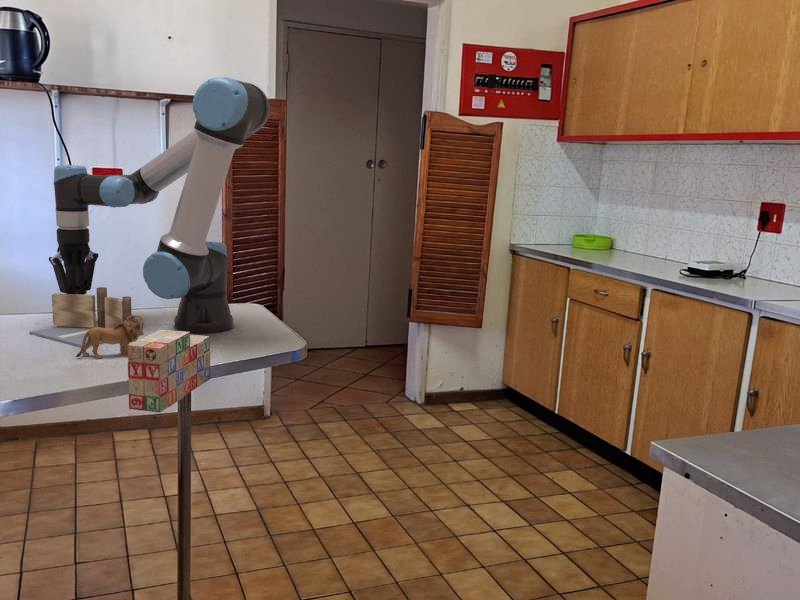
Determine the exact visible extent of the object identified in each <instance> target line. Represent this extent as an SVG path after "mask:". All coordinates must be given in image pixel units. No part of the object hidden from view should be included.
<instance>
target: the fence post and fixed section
mask: <svg viewBox="0 0 800 600" xmlns="http://www.w3.org/2000/svg"><path fill="white" fill-rule="evenodd" d="M96 315H97V317H96V318H97V320H96V321H98V327H100V328H114V327H116V326H118V325H119V324H120V323H121V322H124V321H125V320H126V319H127V317H129V316H131V315H132V296H129V295H128V296H122V298H118V297H113V296H108V287H103V286H102V287H101V286H100V287H96Z"/></svg>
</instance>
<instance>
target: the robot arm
mask: <svg viewBox="0 0 800 600" xmlns="http://www.w3.org/2000/svg"><path fill="white" fill-rule="evenodd" d="M192 111H193V113H194V117H195V119H196V121H195V123H194V127H193V130H192V131H191V132H190V133H188V134H187V135H185V136H184V137H183V138H181V139H180V140H179V141H177V142H176V143H174V144H172V145H171V146H170V147H168V148H167V149H165V150H163V152H161V153H160V154H158V155H157V156H155V157H153V159H151V160H149V161H148V162H147V163H145V164H144V165H142V166H141V167H140V168H138V169H137V170H135V171H134V172H132V173H131V174H118V175H117V174H116V175H115V174H113V175H112V174H111V175H109V174H108V175H107V174H105V175H104V174H103V175H102V174H89V173H88V170H87V167H86V166H85V165H77V164H76V165H75V164H59V165H55V167H54V170H53V189H54V197H55V198H54V201H55V222H56V226H57V227H58V228H57V229H56V241H57V245H58V247H57V250H56V253H55V254H54V255H53V256H49V257H48V261H49V263H50V264H51V266H52V267H53V272H54V274H55V279H56V283H57V285H58V290H59V291H60V293H61V294H80V295H87V291H91V289H92V284H93V278H94V274H95V267H96V262H97V260H98V258H99V253H97V252H94V251H92V250H91V247H90V244H89V243H90V229H89V228H88V227H89V226H90V218H89V206H100V207H110V208H113V209H114V208H126V207H128V206H130V205H144V204H148V203H151V202H153V201H155V200H156V199H157V198H158V196H159V194H160V192H161V191H162V190H164V189H166V188H167V187H168V186H170V185H171V184H173V183H174V182H175V181H178V180H179V179H180V178H181V177H183V176H184V175H186V177H185V180H184V184H183V187H182V190H181V193H180V197H179V200H178V203H177V206H176V209H175V213H174V215H173V220H172V223H171V226H170V230H169V232H168V233H165V234H163V235H162V236H160V238H159V239H160V240H159V243H158V246H157V249H156V251H155V252H153V253H152V254H150V255H149V256H147V258H146V259H145V261H144V263H143V267H142V277H143V280H144V282H145V283H146V285H147V288H148V290H149V291H150V292H152V293H153V294H154V295H155V296H157V297H159V298H161V299H164V300H173V299H180V301H179V304H178V308H177V312H176V314H175V316H174V320H173V321H174V322H173V323H174V326H173V327H174V328H175V330H176V331H184V332H190V333H196V334H207V333H209V334H211V333H221V332H224V331H229V330H230V329H232V328H234V317H233V315H232V314H231V308H230V305H229V302H228V298H227V289H228V280H227V278H228V253H227V251H228V249H227V245H226V244H225V243H223V242H220V241H209V240H207V238H208V236H209V235H208V234H209V232H210V229H211V225H212V222H213V219H214V216H215V213H216V209H217V207H218V205H219V204H218V203H219V200H220V197H221V194H222V190H223V188H224V184H225V181H226V178H227V175H228V172H229V169H230V167H231V166H230V165H231V164H232V160H233V156H234V153H235V151H236V150H238V149H239V148H242V147H243V146H244V143H245V141H246V139H248V138H249V137H250V136H252V135H254V134H255V133H256V132H258V131H259V130H261V129H262V128H263V127H264V126H265V125H266V123H267V122H268V119H269V116H270V111H271V110H270V102H269V99H268V97H267V95H266V93H265V92H264V91H263V90H262V89H261V88H260V87H259V86H257V85H255V84H253V83H249V82H247V81H246V82H244V81H240V80H238V79H235V78H231V77H220V76H219V77H212V78H209V79H208V80H205V81H204V82H203V83H201V84H200V85H199V87H197V89H196V91H195V93H194V95H193V99H192ZM62 262H63V263H62Z"/></svg>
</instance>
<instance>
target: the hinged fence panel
mask: <svg viewBox="0 0 800 600" xmlns="http://www.w3.org/2000/svg"><path fill="white" fill-rule="evenodd" d="M51 307H52V309H51V310H52V312H51V313H52V327H56V326H68V327H95V326H96V321H97V320H96V318H97V317H96V315H97V312H96V294H84V295H80V294H66V293H52V294H51Z"/></svg>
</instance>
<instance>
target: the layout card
mask: <svg viewBox="0 0 800 600" xmlns="http://www.w3.org/2000/svg"><path fill="white" fill-rule="evenodd" d="M95 327H98V321H97V320H96V326H95ZM95 327H68V326H51V327H47V328H41V329H36V330H30V331H29V335H33V336H37V337H40V338H45V339H48V340H51V341H56V342H59V343H63V344H67V345H71V346H75V347H78V348H81V346H82V342H83V338H84V335H85V334H86V332H87V331H88V330H89V329H91V328H95ZM142 335H144V331H142V333H141V334H140V336H142ZM87 341H88V337H87V339H86V342H85V344H86V343H87ZM102 344H105V343H104V342H102V341H100V345H102Z"/></svg>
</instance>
